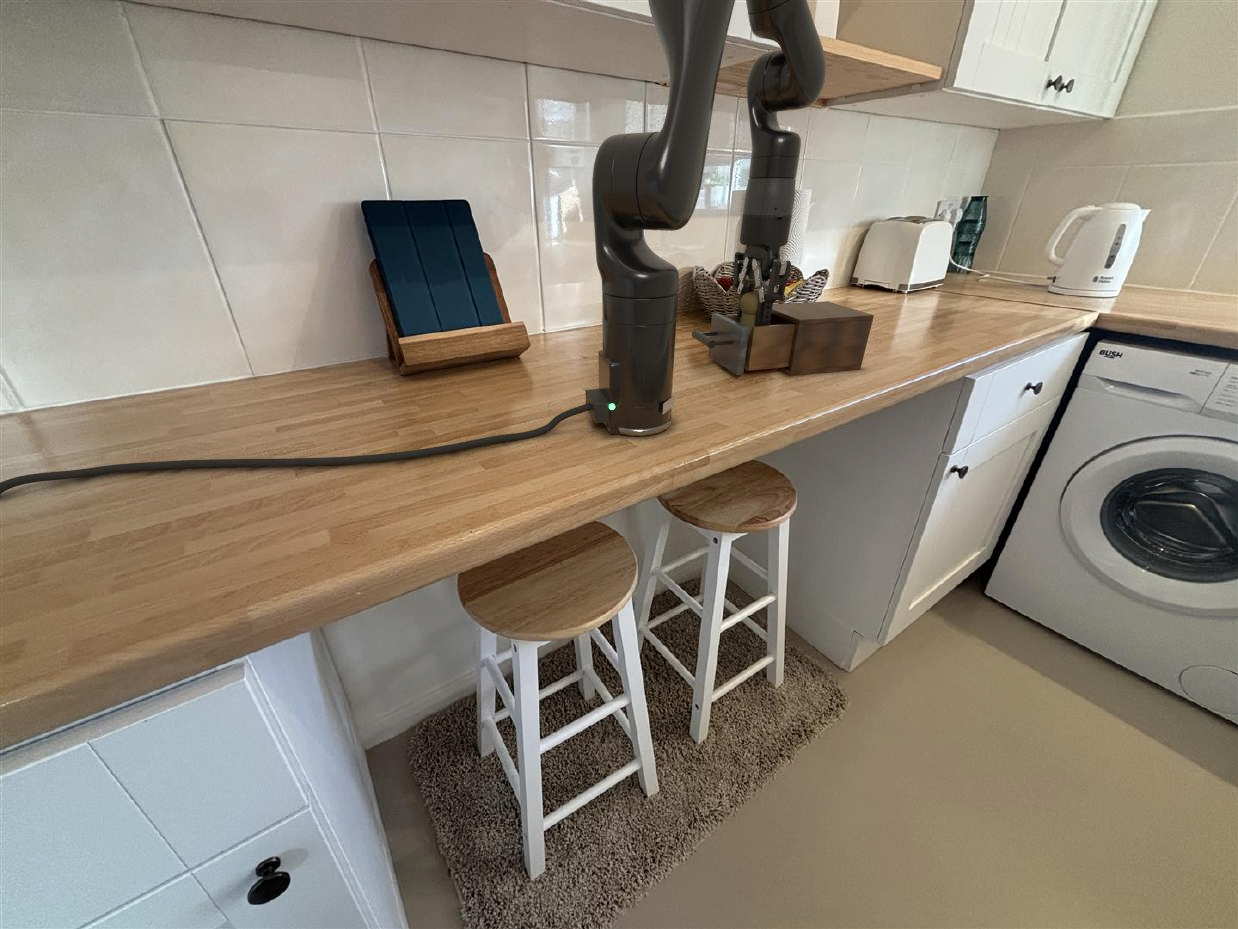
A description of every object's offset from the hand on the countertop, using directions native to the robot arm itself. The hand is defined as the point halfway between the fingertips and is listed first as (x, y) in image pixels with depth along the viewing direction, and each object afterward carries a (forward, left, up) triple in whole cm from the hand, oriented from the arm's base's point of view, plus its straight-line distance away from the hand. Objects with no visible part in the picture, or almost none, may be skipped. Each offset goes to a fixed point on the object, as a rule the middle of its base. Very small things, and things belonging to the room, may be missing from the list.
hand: (752, 320), depth 85 cm
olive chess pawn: (0, 0, -7) cm, 7 cm away
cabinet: (+12, 0, -8) cm, 15 cm away
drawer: (-1, 0, -8) cm, 8 cm away
